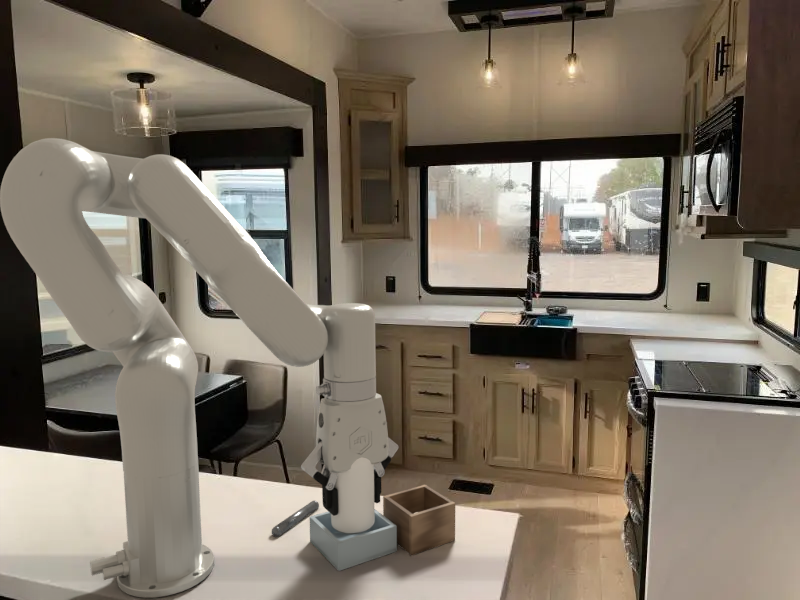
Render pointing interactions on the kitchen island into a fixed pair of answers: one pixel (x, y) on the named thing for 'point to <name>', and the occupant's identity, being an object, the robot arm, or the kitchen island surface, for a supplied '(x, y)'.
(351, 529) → the can
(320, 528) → the light blue tray
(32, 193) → the robot arm
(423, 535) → the walnut box
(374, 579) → the kitchen island surface
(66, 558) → the kitchen island surface
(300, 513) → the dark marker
